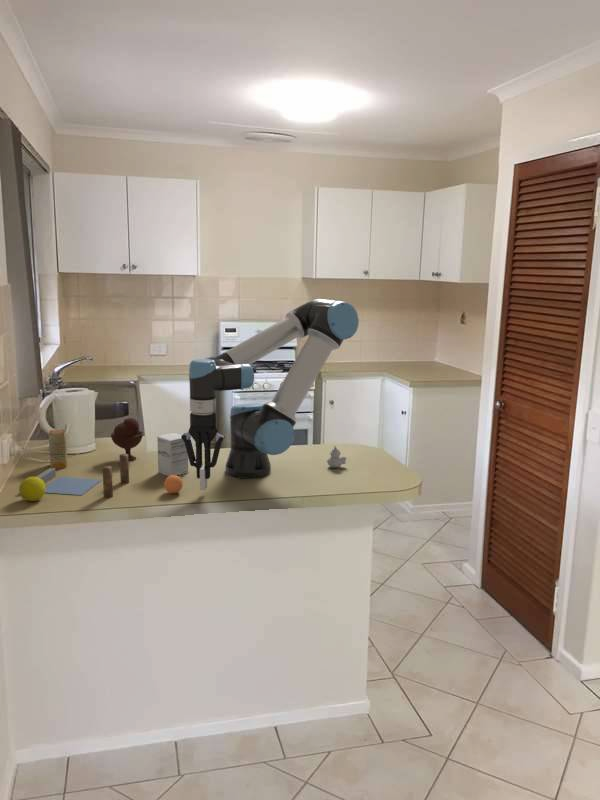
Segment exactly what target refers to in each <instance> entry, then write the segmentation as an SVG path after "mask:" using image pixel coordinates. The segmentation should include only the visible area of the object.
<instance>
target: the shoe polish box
mask: <svg viewBox="0 0 600 800" xmlns="http://www.w3.org/2000/svg"><path fill="white" fill-rule="evenodd" d="M48 445H49V446H48V448H49V449H48V450H49V461H50V462H49V463H50V468H52V469H53V468H55V469H66V468H67V467H68V452H67V451H68V450H67V449H68V448H67V433H66V429H50V430H49V432H48Z"/></svg>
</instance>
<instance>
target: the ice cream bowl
mask: <svg viewBox="0 0 600 800" xmlns="http://www.w3.org/2000/svg"><path fill="white" fill-rule="evenodd" d="M143 436H144V431H141V430H140V424H139V422H138V420H137V419H135V418H133V417H129V418H125V419H124V421H123V422H120V423H118V424H117V425H116V426H115V427H114V430H113V432H111V434H110V438H111V441H112V442H113V443H114V445H116V446H117V447H119V448H121V449H123V450H124V452H125V454H128V461H132V462H135V461H136V460H137V457H136V456H135V455H133V454H131V450H132V449H133V448H136V447H137V446H138V445H139V444H140V443H141V442H142V439H143ZM134 460H135V461H134Z"/></svg>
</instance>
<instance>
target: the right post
mask: <svg viewBox="0 0 600 800" xmlns="http://www.w3.org/2000/svg"><path fill="white" fill-rule="evenodd" d="M129 466H130V465H129V462H128V454H126V453H121V454H119V475H120V484H123V485H125V484H126V483H127V484H129V483H130V472H129V471H130V467H129Z"/></svg>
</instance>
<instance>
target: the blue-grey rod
mask: <svg viewBox="0 0 600 800" xmlns="http://www.w3.org/2000/svg"><path fill="white" fill-rule="evenodd" d="M56 471H57V470H56V468H55V469H52V468H51V467H50V468H48V469H46V470H44V471H43V472H41V473H39V474H37V476H35V477H38V478H40V479H42V480H43V482H44V483H45V484H47V482H49V481H50V480H52V479H53V478H55V477H57V473H56Z"/></svg>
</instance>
